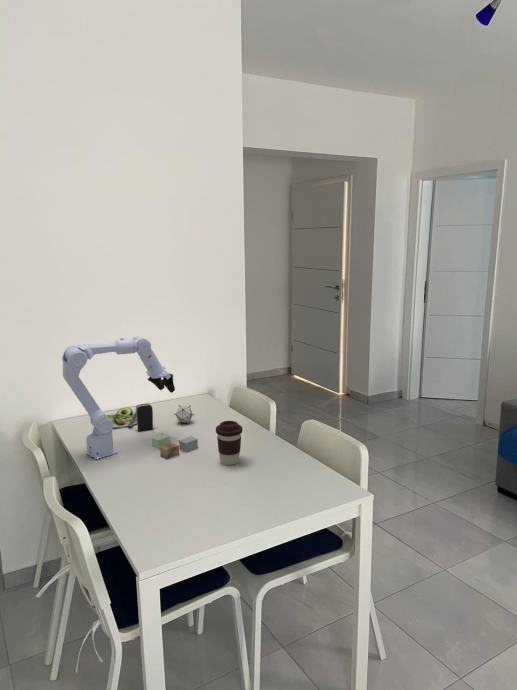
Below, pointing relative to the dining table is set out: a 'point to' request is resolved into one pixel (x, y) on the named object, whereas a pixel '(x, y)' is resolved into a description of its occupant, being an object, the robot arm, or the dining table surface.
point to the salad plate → (123, 418)
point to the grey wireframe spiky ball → (184, 414)
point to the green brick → (160, 440)
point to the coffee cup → (229, 442)
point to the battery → (144, 417)
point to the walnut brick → (169, 450)
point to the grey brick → (188, 444)
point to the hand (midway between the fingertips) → (167, 390)
